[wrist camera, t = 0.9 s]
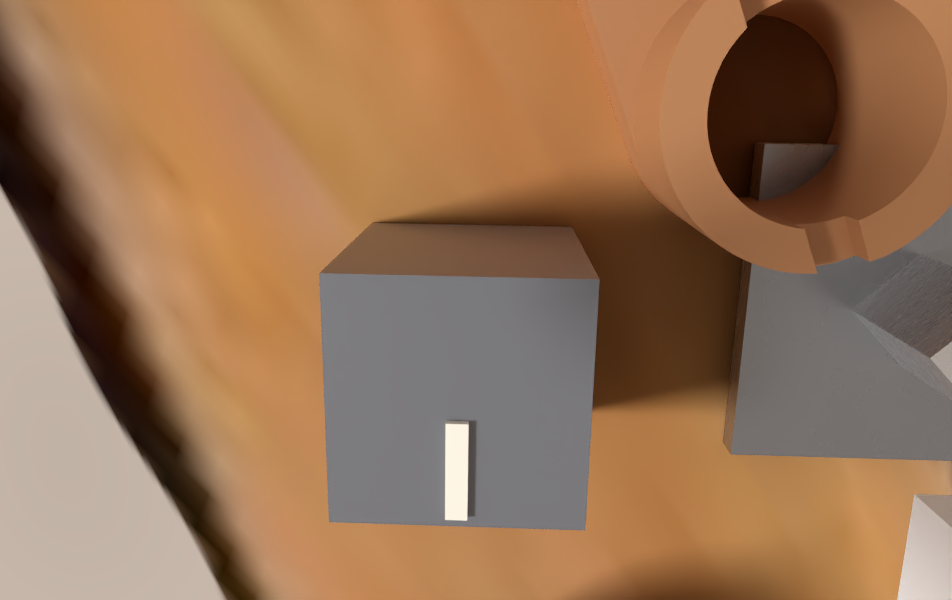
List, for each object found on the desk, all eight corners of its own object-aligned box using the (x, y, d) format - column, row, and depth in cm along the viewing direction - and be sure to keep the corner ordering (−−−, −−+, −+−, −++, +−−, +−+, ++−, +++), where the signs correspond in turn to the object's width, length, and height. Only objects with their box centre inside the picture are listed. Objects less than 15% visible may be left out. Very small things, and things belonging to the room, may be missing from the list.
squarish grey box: (372, 222, 27) (317, 275, 19) (571, 226, 27) (600, 281, 19) (376, 407, 29) (327, 526, 21) (563, 412, 28) (586, 534, 21)
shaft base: (754, 142, 26) (828, 155, 20) (1089, 147, 25) (1263, 162, 20) (723, 442, 29) (778, 530, 23) (1024, 450, 28) (1157, 542, 22)
